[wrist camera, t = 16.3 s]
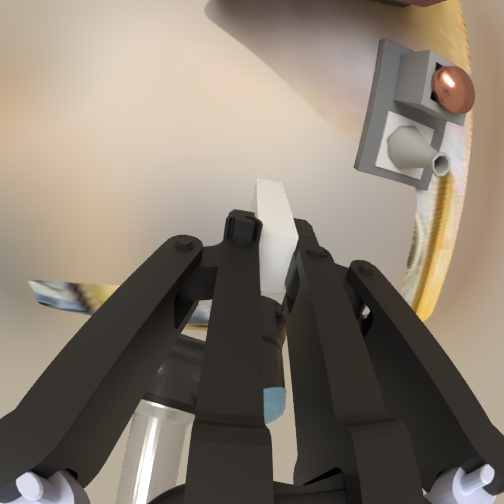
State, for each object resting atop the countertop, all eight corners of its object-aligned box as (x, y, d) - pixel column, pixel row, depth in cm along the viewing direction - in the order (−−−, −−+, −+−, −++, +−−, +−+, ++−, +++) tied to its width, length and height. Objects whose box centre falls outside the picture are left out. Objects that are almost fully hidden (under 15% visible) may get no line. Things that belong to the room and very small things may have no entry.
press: (421, 186, 41) (452, 210, 32) (353, 167, 40) (378, 188, 32) (448, 73, 29) (486, 77, 21) (379, 40, 28) (411, 30, 20)
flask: (416, 118, 33) (454, 130, 24) (428, 159, 36) (465, 180, 28) (379, 134, 35) (413, 148, 26) (394, 175, 38) (426, 200, 30)
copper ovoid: (436, 112, 30) (470, 121, 23) (404, 97, 30) (436, 102, 23) (442, 76, 27) (477, 79, 20) (410, 59, 27) (443, 57, 20)
